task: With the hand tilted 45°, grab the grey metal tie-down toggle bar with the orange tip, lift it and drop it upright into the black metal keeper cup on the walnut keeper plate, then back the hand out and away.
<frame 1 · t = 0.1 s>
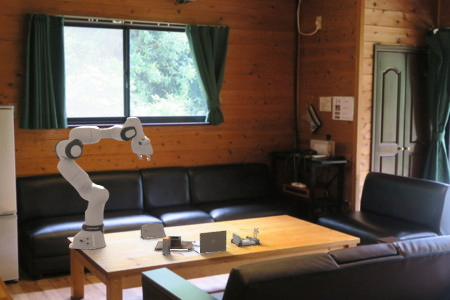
hand: (145, 159, 401), 52 cm above the table, tool tilted 20°, fingers open, 8 cm apart
toy car: (247, 244, 392), on the table
laptop: (208, 250, 376), on the table
toggle bar: (166, 254, 365), on the table
grey rounded block: (152, 236, 410), on the table
keeper: (174, 247, 382), on the table
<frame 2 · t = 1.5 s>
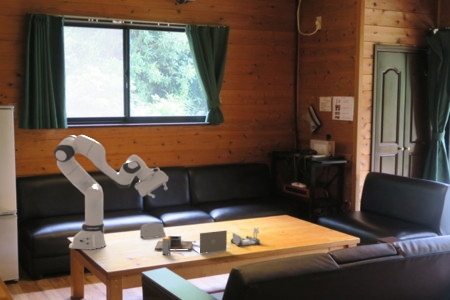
hand: (160, 193, 368), 36 cm above the table, tool tilted 50°, fingers open, 8 cm apart
nothing on the table moved.
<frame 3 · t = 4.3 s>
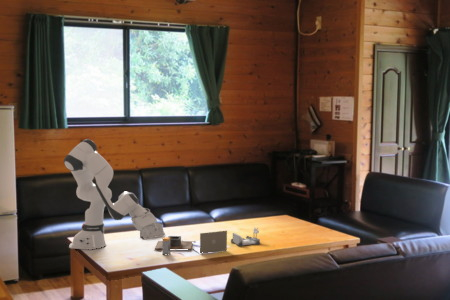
hand: (153, 232, 366), 13 cm above the table, tool tilted 45°, fingers open, 8 cm apart
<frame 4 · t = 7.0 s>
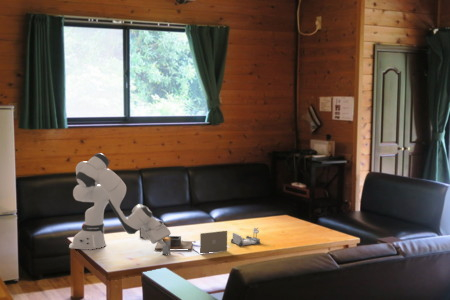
hand: (167, 244, 364), 6 cm above the table, tool tilted 45°, fingers closed on toggle bar, 3 cm apart
toggle bar: (166, 254, 365), on the table, touching gripper
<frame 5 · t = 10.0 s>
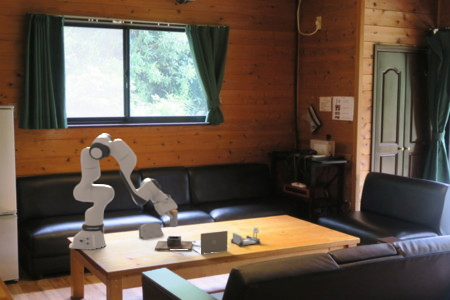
hand: (174, 217, 378), 19 cm above the table, tool tilted 45°, fingers closed on toggle bar, 3 cm apart
toggle bar: (173, 226, 379), point 14 cm above the table, touching gripper
when the fingers open (9 cm above the table, at t = 12.9 s): toggle bar drops 2 cm, resting on keeper.
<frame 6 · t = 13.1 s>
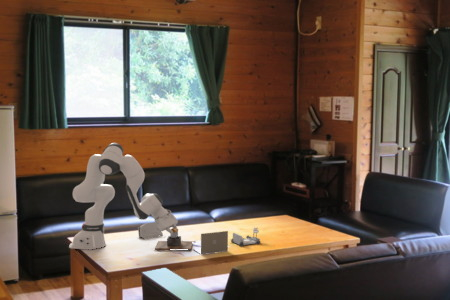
hand: (175, 232, 381), 9 cm above the table, tool tilted 45°, fingers open, 5 cm apart
toggle bar: (174, 244, 382), point 1 cm above the table, touching keeper
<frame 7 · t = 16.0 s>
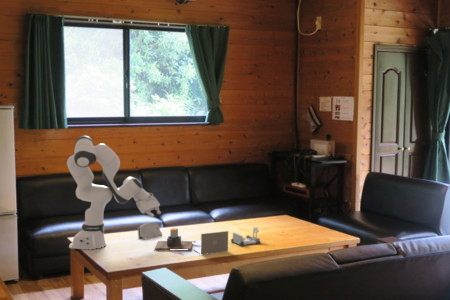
hand: (156, 215, 384), 19 cm above the table, tool tilted 45°, fingers open, 8 cm apart
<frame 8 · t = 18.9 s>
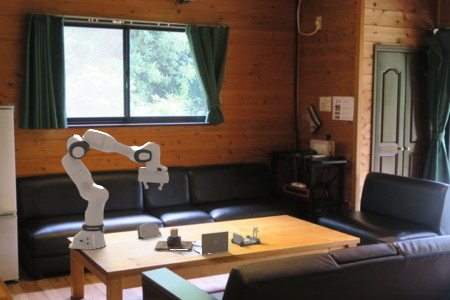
hand: (153, 189, 386), 35 cm above the table, tool pointing down, fingers open, 8 cm apart
at the end: toggle bar 0.0 cm off-centre on the keeper, point 1.5 cm above the keeper's base; toggle bar tilted 0°; the gripper is holding nothing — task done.
